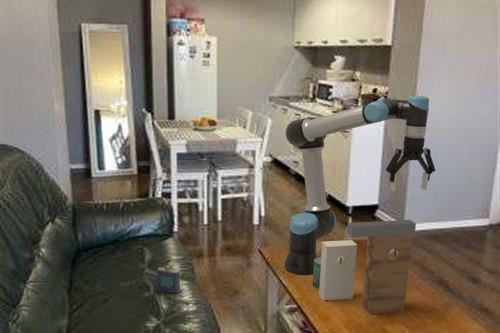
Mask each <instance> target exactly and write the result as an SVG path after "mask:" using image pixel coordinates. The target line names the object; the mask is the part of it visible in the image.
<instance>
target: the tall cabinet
mask: <svg viewBox="0 0 500 333" xmlns="http://www.w3.org/2000/svg"><path fill="white" fill-rule="evenodd" d="M412 239H413V234H410V235H392V236H375V237H367V241H366V242H367V243H366V252H365V254H366V255H365V263H364V265H365V266H364V278H363V288H362V298H361V299H362V300H361V301H362V302H361V307H362V308H363V309H364V310H365V311H366V312H367V314H368V315H373V314H375V315H376V314H384V313H385V314H386V313H396V312H405V306H406V304H405V303H406V296H407V288H408V287H407V284H408V276H409V269H410V268H409V267H410V260H411V259H410V258H411V249H412Z"/></svg>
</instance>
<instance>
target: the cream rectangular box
mask: <svg viewBox="0 0 500 333" xmlns="http://www.w3.org/2000/svg"><path fill="white" fill-rule="evenodd" d="M357 251H358V244H357V243H356V242H355V241H354V240H352V239H349V240H348V239H347V240H332V241H331V240H330V241H322V244H321V256H320V257H321V270H320V286H319V290H318V295H319V297H320V299H321V300H322V299H323V300H322V301H323V302H326V301H325V300H328V301H336V300H337V301H338V300H349V299H353V298H354V290H355V288H354V287H355V277H356V276H355V274H356V266H357V253H358V252H357Z"/></svg>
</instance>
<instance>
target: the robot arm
mask: <svg viewBox="0 0 500 333" xmlns="http://www.w3.org/2000/svg"><path fill="white" fill-rule="evenodd" d="M429 104H430V99H429V98H428V97H427V96H423V95H410V96H408V100H406V99H396V98H388V97H387V98H384V97H383V98H379V99H378V100H376V101H372V102H369V103H367V104H365V105H364V104H362V105H360V106H356V107H353V108H349V109H346V110H342V111H339V112H335V113H331V114H327V115H324V116H320V117H317V116H311V117H310V116H309V117H304V118H299V119H295V120H293V121H290V122H289V123H288V125H287V127H286V128H285V137H286V140H287V141H288V143H290V144H291V145H292V146H295V147H297V149H298V151H300V152H301V155H302V164H303V174H304V183H305V193H306V203H307V204H306V206H305V207H304V212H302V213H296V214H294V215H293V216H292V217H291V219H290V223H289V244H288V245H289V246H288V247H289V248H288V252H287V254H286V257H285V258H284V262H283V263H284V264H283V267H284V269H285V270H286V271H287V272H289V273H292V274H294V275H295V274H296V275H304V276H305V275H313V271H314V259H315V258H317V257H318V255H317V241H318V240H320V239H323V237H325V236H328V235H329V234H331V233H332V232H333V231H334V230H335V227H336V225H337V217H336V215H335V213H334V212H333V210H331V209H332V208H331V205H330V204H328V203H327V196H326V185H325V172H324V166H323V164H324V163H323V154H322V151H323V149H324V148H325V139H326V137H327V136H329V135H331V134H336V133H340V132H344V131H347V130H352V129H355V128H361V127H364V126H368V125H372V124H376V123H380V122H383V121H389V120H392V119H393V120H402V121H403V120H404V121H405V127H404V128H405V129H404V137H403V138H404V139H403V149H402V148H398V147H397V148H396V149H395V150H394V155H393V156H392V158H391V160H390V162H389V163H388V166H387V167H386V169H385V171H386V172H388V173H389V182H390V190H392V191H393V192H396V190H397V181H398V180H397V179H398V174H397V173H398V171H399V170H401V168H402V167H403V166H404V165H405V163H407V162H408V161H409V162H411V161H418V163H419V165H420V166H421V168H422V169H423V170H424V172H422V176H421V177H422V179H421V186H420V189H423V190H425V191H427V189H428V182H429V181H430V177H431V174H433V173H434V172H436V168H435V165H434V162H433V159H432V156H431V155H432V154H431V149H429V148H427V147H424V146H425V140H426V139H425V136H426V130H427V122H428V115H429V110H430V108H429V106H430V105H429ZM422 155H424V157H423V156H422ZM424 158H425V160H424ZM425 161H426V162H425Z"/></svg>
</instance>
